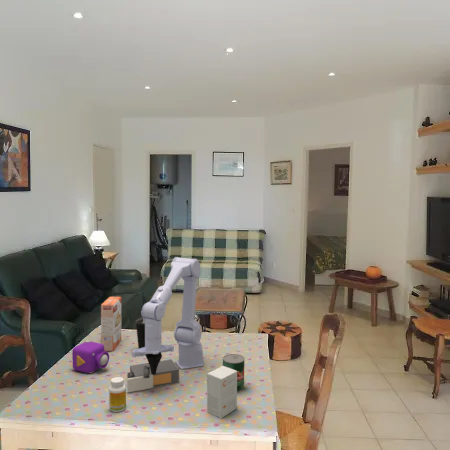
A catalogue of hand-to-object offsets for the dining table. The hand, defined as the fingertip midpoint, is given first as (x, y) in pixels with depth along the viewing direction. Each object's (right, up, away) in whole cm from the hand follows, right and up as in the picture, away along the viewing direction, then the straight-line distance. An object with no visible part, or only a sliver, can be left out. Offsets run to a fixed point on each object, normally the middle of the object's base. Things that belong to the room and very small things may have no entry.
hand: (153, 373), depth 155 cm
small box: (+24, -8, -13) cm, 29 cm away
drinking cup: (-10, -3, +35) cm, 36 cm away
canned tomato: (+28, -6, +3) cm, 29 cm away
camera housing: (-1, -5, +7) cm, 9 cm away
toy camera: (-27, -4, +17) cm, 32 cm away
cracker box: (-25, -2, +41) cm, 48 cm away
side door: (-4, -6, -1) cm, 7 cm away
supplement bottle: (-10, -7, -13) cm, 17 cm away
